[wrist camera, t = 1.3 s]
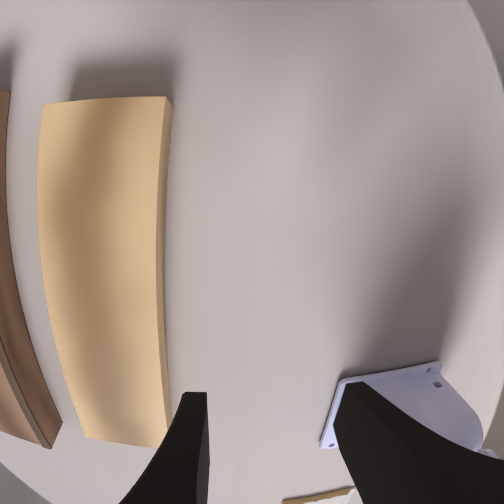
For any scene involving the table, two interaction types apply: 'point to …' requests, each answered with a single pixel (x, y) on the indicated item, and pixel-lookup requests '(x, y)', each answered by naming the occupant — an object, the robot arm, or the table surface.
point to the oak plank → (108, 259)
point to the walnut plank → (19, 341)
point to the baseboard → (325, 498)
